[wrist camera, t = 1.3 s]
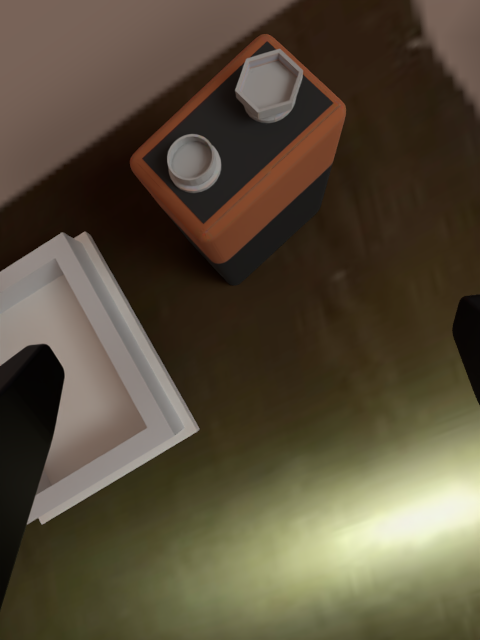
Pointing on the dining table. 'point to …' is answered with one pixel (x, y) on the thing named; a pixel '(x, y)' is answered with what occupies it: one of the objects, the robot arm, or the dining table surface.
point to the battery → (245, 158)
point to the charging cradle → (89, 370)
